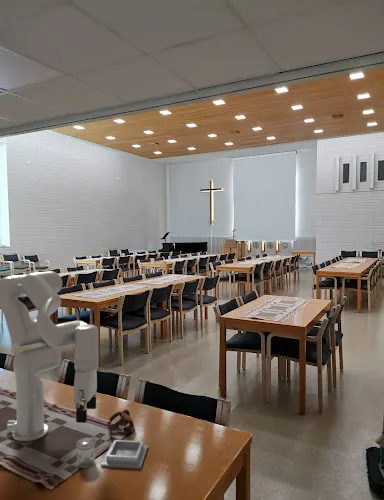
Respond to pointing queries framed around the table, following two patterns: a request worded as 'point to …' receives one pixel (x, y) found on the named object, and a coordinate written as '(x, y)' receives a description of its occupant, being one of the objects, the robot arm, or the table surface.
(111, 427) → the pottery mug
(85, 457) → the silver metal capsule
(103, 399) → the table surface
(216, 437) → the table surface
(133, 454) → the duct collar
